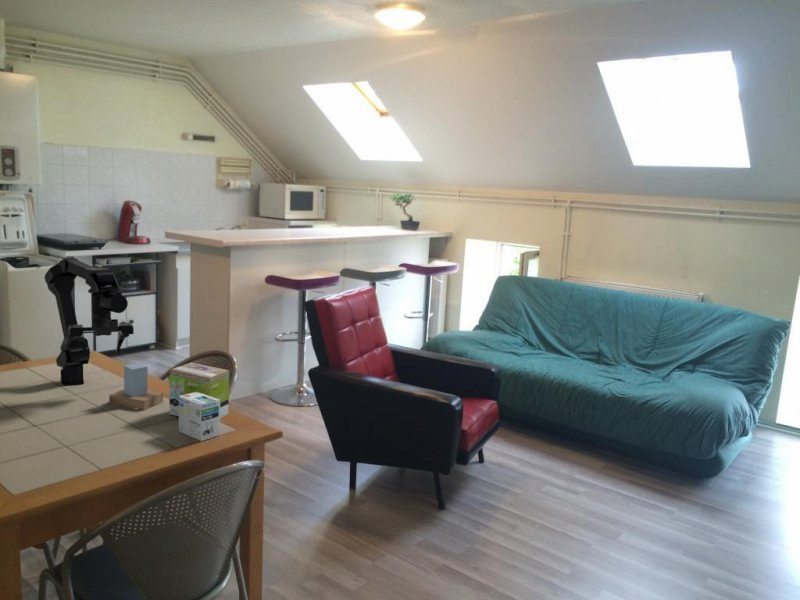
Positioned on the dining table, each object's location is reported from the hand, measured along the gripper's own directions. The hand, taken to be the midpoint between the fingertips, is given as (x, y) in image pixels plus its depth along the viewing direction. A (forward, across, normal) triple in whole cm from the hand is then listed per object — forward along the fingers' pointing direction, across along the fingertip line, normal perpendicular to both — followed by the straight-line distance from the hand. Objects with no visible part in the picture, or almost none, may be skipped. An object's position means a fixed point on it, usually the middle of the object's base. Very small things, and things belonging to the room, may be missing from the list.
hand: (101, 355), depth 213 cm
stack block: (+14, +9, -12) cm, 20 cm away
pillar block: (+10, +9, -12) cm, 18 cm away
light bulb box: (+13, +22, -44) cm, 51 cm away
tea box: (+13, +25, -29) cm, 41 cm away
